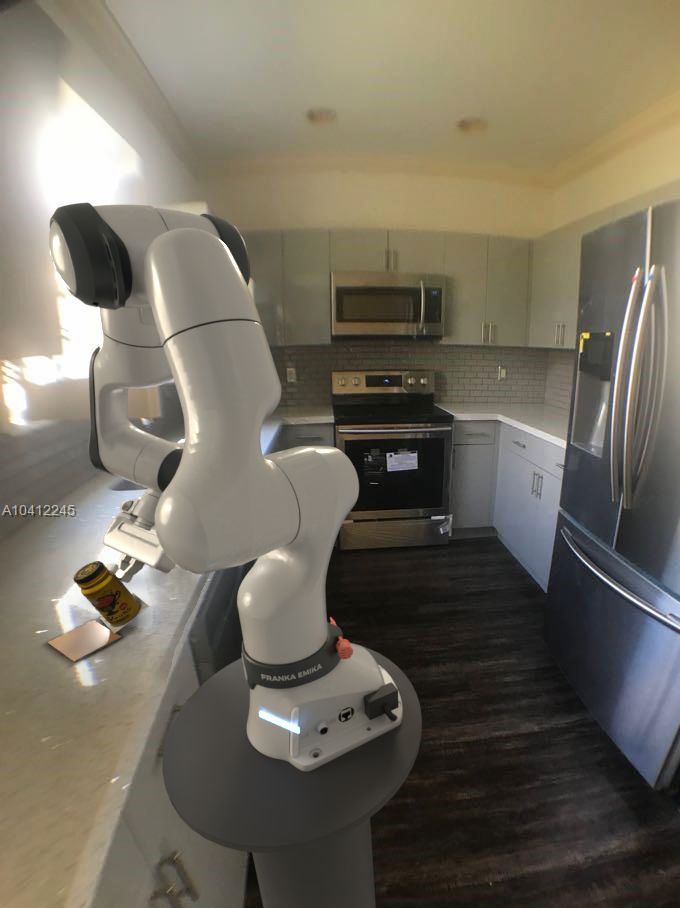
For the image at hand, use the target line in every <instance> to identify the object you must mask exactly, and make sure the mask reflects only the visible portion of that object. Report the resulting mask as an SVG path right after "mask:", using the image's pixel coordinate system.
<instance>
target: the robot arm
mask: <svg viewBox="0 0 680 908" xmlns="http://www.w3.org/2000/svg"><path fill="white" fill-rule="evenodd" d="M48 247H49V248H48V249H49V255H50V258H51V261H52V264H53V266H54V269H55V271H56V272H57V275H58V277H60V279H61V280H62V282H63V283H64V285H65V287H66V288H67V290H68V292H69V293H70V294H71V296H73V297H74V298H75V299H77V300H78V301H80V302H81V303H83V304H84V305H86V306H89V307H94V308H97V309H98V318H99V325H100V330H101V345H99V346H97V348H95V350H94V351H93V352H92V354H91V356H90V361H89V368H88V390H89V391H88V392H89V413H90V416H89V417H90V431H89V436H88V441H87V454H88V457H89V460H90V462H91V465H92V466H93V467H94V469H96V470H98V471H99V472H101V473H105V474H108V475H111V476H115V477H118V478H121V479H123V480H126V481H128V482H131V483H133V484H134V485H137V486H140V487H143V488H146V489H145V490H144V492H143V493H142V495H141V497H137V498H133V499H129V500H128V499H127V500H124V501H122V503H121V504H120V505H119V508H118V509H119V511H120V512H118V513H117V514H116V515H115V516H114V518H113V520H112V521H111V522H110V525H109V526H108V527H107V530H106V532H105V534H104V536H103V541H102V543H103V545H104V546H106V547H107V548H111V549H113V550H115V551H117V552H119V553H121V556H120V557H119V560H118V565H119V566H118V570H117V572H116V573H115V574H116V576H117V577H118V578H119V579H120V581H121V582H122V583H126V584H129V583H130V582H131V581H132V579H133V577H134V576H135V575H136V574H138V573H139V572H140V571H141V570H142V569H143V568H144V566H145V565H147V566H149V567H150V568H152V569H155V570H157V571H159V572H162V573H164V574H168V573H170V572H171V571H173V570H174V568H175V567H176V565H177V566H179V567H180V568H181V569H183V570H185V571H187V572H190V573H193V574H196V575H203V574H208V573H214V572H218V571H219V572H220V571H223V570H227V569H232V568H236V567H240V566H242V565H245V564H247V563H250V562H252V561H254V560H256V561H255V563H254V564H253V566H252V567H251V568H250V570H249V571H248V572H247V574H246V575H245V576H244V578H243V580H242V581H241V583H240V585H239V587H238V591H237V597H236V605H237V611H238V617H239V622H240V628H241V634H242V639H243V640H242V642H241V658H242V661H243V667H244V672H245V677H246V681H247V682H248V685H249V687H250V707H249V715H248V720H247V735H248V738H249V741H250V742H251V744H252V745H253V746H254V748H255V749H257V750H258V751H259V752H261V753H262V754H264V755H266V756H269V757H272V758H276V759H280V760H285V761H288V762H290V763H291V764H292V765H294V766H295V767H296V768H298V769H299V770H301V771H305V772H308V771H312V770H314V769H316V768H318V767H320V766H321V765H323V764H325V763H327V762H329V761H331V760H333V759H335V758H337V757H339V756H341V755H343V754H345V753H347V752H349V751H351V750H353V749H355V748H357V747H358V746H360V745H362V744H364V743H366V742H368V741H370V740H372V739H374V738H376V737H378V736H380V735H382V734H384V733H386V732H388V731H390V730H392V729H393V728H395V727H397V726H399V725H400V724H401V722H402V718H403V706H402V700H401V696H400V694H399V691H398V689H397V687H396V685H395V683H394V681H393V680H392V678H391V677H390V675H389V674H388V673H387V672H386V671H385V670H384V669H383V668H382V667H381V666H379V665H378V664H377V662H376V661H375V659H374V658H373V657H372V655H371V654H370V653H369V652H368V651H367V650H366V649H365V648H363V647H364V646H363V645H360V644H357V643H353V642H350V640H348V639H346V638H344V635H343V634H344V633H343V631H342V629H341V627H339V626H338V625H337V624H336V621H335V620H334V618H333V617H332V616H330V617H329V619H330V622H329V621H328V618H327V617H328V616H327V615H328V614H327V597H326V596H327V595H326V594H327V593H326V584H327V583H326V582H327V574H328V568H329V564H330V561H331V557H332V553H333V550H334V546H335V543H336V540H337V537H338V535H339V532H340V530H341V528H342V525H343V524H344V521H345V520H346V518H347V516H348V515H349V514H350V512H351V511H352V510H353V508H354V507H355V505H356V503H357V501H358V498H359V492H360V482H359V477H358V472H357V470H356V468H355V466H354V465H353V463H352V462H353V461H351V460H350V458H349V456H348V455H346V454H345V453H344V452H343V451H342V450H340V449H339V448H337V447H335V446H332V445H331V446H330V445H301V446H299V445H298V446H295V447H291V448H288V449H283V450H280V451H276V452H273V453H268V454H264V455H263V452H262V451H263V450H262V445H261V433H262V428H263V424H264V422H265V421H266V420H267V419H268V418H269V417H270V416H271V415H272V414H273V413H274V412H275V410H276V409H277V407H278V406H279V404H280V402H281V398H282V391H283V390H282V384H281V381H280V377H279V375H278V371H277V368H276V365H275V361H274V358H273V355H272V352H271V348H270V345H269V342H268V339H267V336H266V333H265V328H264V327H263V322H262V320H261V318H260V317H261V316H260V314H259V311H258V308H257V306H256V304H255V303H256V302H255V301H254V298H253V295H252V292H251V291H250V289H249V284H250V281H251V261H250V255H249V251H248V248H247V245H246V243H245V240H244V237H242V235H241V233H240V231H239V230H238V228H237V227H236V226H235V225H234V224H233V223H232V222H230V221H228V220H227V219H224V218H221V217H219V216H215V215H212V214H208V213H200V214H195V213H191V212H187V211H181V210H174V209H168V208H159V207H154V206H152V205H145V204H144V205H143V204H102V205H101V204H100V205H92V204H91V203H89V202H78V203H77V202H76V203H71V204H66V205H65V204H64V205H62V206H58V207H57V208H56V210H55V211H54V212H53V214H52V216H51V217H50V220H49V234H48ZM171 380H173V382H174V384H175V389H176V391H177V395H178V398H179V402H180V406H181V410H182V415H183V423H184V439H180V440H179V441H178V442H175V441H171V440H170V441H169V440H166V439H164V438H161V437H158V436H156V435H153V434H151V433H149V432H147V431H144V430H142V429H140V428H138V427H137V426H136V425H134V424H133V423H132V422H131V421H130V420H129V418H128V408H129V407H128V405H129V389H133V390H135V389H136V390H146V389H152V388H156V387H160V386H162V385H164V384H166V383H169V382H170V381H171ZM352 643H353V644H352ZM356 644H357V645H356ZM359 645H360V646H359ZM362 646H363V647H362ZM315 756H318V757H317V758H314V757H315Z"/></svg>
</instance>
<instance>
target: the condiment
mask: <svg viewBox="0 0 680 908" xmlns="http://www.w3.org/2000/svg"><path fill="white" fill-rule="evenodd" d="M72 579H73V582H74V583H75V584H76V585H77V586H78V588H80V592H81V594H82V596H83V597H85V599H86V600H87V601H88V602H89V603H90V604H91V605H92V607H93V608H94V609H95V610H96V611H97V612H98V613H99V614H100V615H101V617H99V620H101V621H102V623H104V624H105V625H106V627H107V628H108V629H109V630H111V631H112V632H113V633H116V634H117V632H119V631H120V630H122V629H123V628H124V627H125V626H127V625H128V624H130V623H131V622H132V621H134V620H135V619H136V618H137V617H139V616H140V615H141V614H142V613H143V612H144V611H146V610H147V609H149V607H150V605H149V604H147V603H146V602H145V601H144V600H143V599H142V598H140V597H139V596H137V594H135V593H134V592H132V593H131V590H129V589H128V588H127V587H126V585H125V584H124V582H123V581H121V580H120V579H119V578H118V577H117V576H116V574H115V573H114V572H113V571H110V570H108V568H107V567H105V565H104V562H102V561H100V560H96V561H91V562H89V563H87V564H85V565H84V566H82V567H81V568H80V569H78V570H77V571H76V573H75V574H74V575H73V578H72Z"/></svg>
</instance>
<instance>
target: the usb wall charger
mask: <svg viewBox="0 0 680 908" xmlns="http://www.w3.org/2000/svg"><path fill="white" fill-rule="evenodd" d="M103 564H104V563H103ZM104 565H105V567H107V568H108V570H110V571H113V572H114V573H116V572H117V570H118V566H119V564H117V563H113V562H112V563H105V564H104Z"/></svg>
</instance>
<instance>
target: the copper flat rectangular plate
mask: <svg viewBox="0 0 680 908" xmlns="http://www.w3.org/2000/svg"><path fill="white" fill-rule="evenodd" d="M121 638H122V636H121V635H119V634H118V633H117V632H116V633H113V632H112V630H111V629H110V628H109V627H107V626H105V625H103V624H101V623H100V622H97V621H96V620H94V619H92V620H91V621H88V622H86V623H84V624H83V625H82V624H81V625H80V626H77V627H76V628H74V629H72V630H70V631H68V632H66V633H64V634H62V635H59V636H58V637H55V638H53V639H51V640H49V641H47V644H48V645H50V646H51V647H52V648H54V649H55V650H56V651H57V652H59V653H61V654H62V655H63V656H65V657H66V658H67V659H69V660H70V661H72V663H77V662H79V661H80V660H82V659H84V658H86V657H88V656H90V655H92V654H93V653H95V652H98V651H99V650H101V649H103V648H105V647H107V646H108V645H110V644H112V643H114V642H116V641H118V640H120V639H121Z"/></svg>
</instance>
